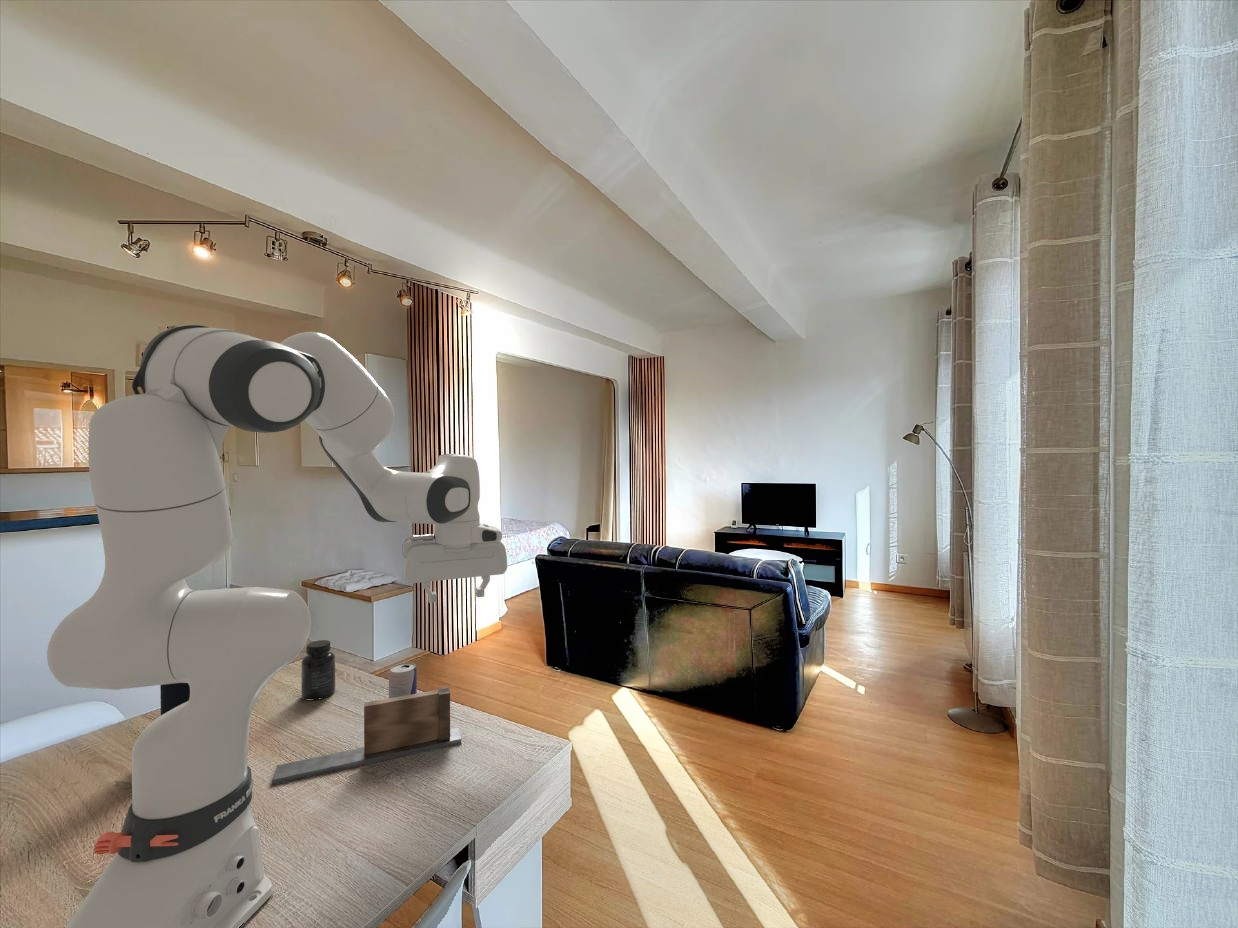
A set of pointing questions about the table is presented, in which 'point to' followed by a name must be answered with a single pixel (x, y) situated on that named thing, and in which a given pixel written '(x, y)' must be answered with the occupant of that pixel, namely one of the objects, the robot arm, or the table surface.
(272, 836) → the table surface
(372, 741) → the walnut screen
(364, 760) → the screen rail
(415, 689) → the energy drink
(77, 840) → the table surface
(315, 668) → the supplement bottle
